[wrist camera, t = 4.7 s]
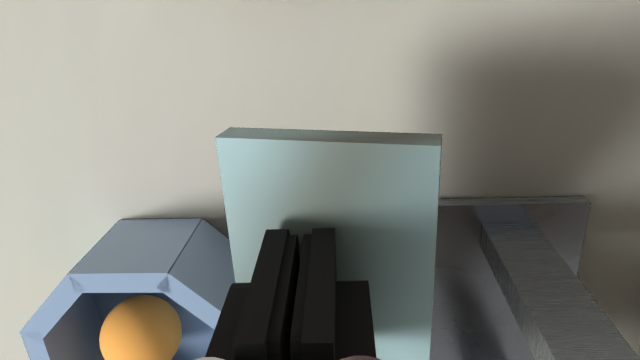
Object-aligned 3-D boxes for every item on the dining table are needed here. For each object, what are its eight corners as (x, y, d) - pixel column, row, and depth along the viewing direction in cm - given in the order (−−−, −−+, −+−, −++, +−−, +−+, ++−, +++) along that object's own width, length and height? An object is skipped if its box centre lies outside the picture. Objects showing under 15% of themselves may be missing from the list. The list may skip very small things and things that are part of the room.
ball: (88, 340, 17) (92, 291, 20) (108, 405, 18) (109, 351, 21) (179, 315, 18) (171, 272, 21) (192, 378, 19) (182, 330, 22)
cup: (261, 217, 20) (241, 272, 16) (278, 375, 23) (265, 451, 19) (62, 220, 20) (-2, 274, 16) (107, 373, 23) (62, 447, 20)
